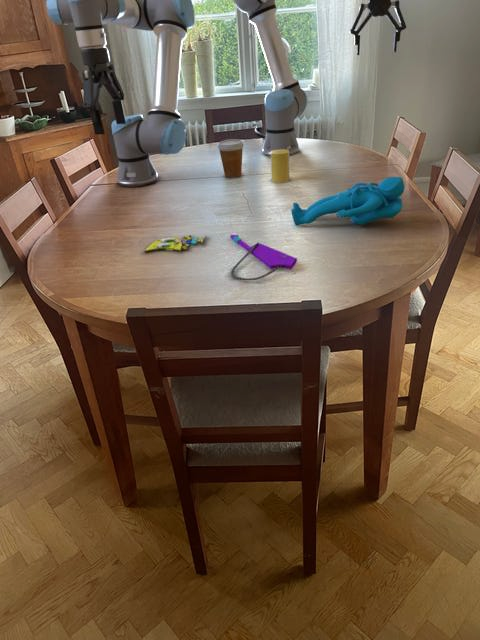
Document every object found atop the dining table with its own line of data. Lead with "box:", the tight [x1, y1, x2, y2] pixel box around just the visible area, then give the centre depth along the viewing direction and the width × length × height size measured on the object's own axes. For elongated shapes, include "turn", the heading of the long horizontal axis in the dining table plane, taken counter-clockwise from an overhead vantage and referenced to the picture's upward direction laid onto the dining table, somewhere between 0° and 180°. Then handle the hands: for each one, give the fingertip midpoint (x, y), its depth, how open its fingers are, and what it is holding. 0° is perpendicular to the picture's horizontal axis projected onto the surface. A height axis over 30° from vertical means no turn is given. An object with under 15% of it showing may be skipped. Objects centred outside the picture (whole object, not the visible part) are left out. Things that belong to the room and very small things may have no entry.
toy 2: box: [290, 176, 405, 227], centre depth 131 cm, size 17×11×30 cm
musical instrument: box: [229, 234, 298, 281], centre depth 118 cm, size 24×2×20 cm
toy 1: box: [144, 234, 207, 254], centre depth 130 cm, size 10×1×15 cm
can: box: [270, 149, 291, 184], centre depth 169 cm, size 6×6×10 cm
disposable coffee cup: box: [217, 138, 245, 178], centre depth 178 cm, size 10×10×12 cm
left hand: (111, 128), depth 144 cm, fingers open, 13 cm apart
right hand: (376, 53), depth 183 cm, fingers open, 13 cm apart
